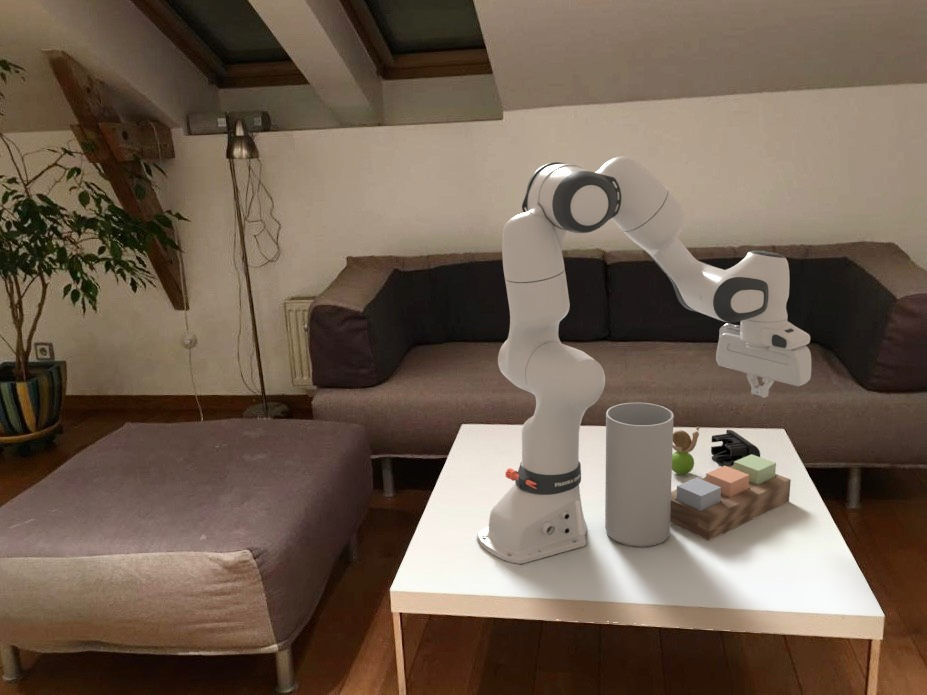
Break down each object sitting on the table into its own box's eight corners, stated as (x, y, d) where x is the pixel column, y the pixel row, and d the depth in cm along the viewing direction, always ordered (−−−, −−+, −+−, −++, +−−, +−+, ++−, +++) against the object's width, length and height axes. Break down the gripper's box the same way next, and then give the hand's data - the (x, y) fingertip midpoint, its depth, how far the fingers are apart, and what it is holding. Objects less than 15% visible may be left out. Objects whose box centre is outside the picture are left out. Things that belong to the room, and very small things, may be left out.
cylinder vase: (624, 511, 173) (625, 398, 166) (680, 528, 165) (684, 410, 158) (593, 536, 163) (593, 417, 156) (651, 555, 156) (654, 430, 149)
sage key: (757, 488, 172) (758, 470, 171) (733, 479, 176) (733, 461, 175) (774, 480, 175) (776, 462, 174) (750, 471, 180) (751, 454, 179)
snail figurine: (692, 481, 185) (694, 431, 182) (665, 475, 189) (666, 425, 186) (701, 472, 189) (703, 423, 186) (674, 466, 193) (676, 418, 190)
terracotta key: (729, 501, 167) (730, 483, 166) (705, 491, 171) (706, 473, 170) (748, 492, 170) (749, 474, 169) (724, 483, 175) (724, 465, 174)
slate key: (700, 514, 162) (701, 496, 161) (676, 504, 166) (676, 485, 165) (720, 505, 165) (721, 487, 164) (695, 495, 170) (696, 477, 169)
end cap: (759, 471, 189) (761, 443, 187) (731, 475, 188) (733, 447, 186) (736, 454, 198) (738, 428, 197) (709, 458, 197) (710, 431, 195)
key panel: (708, 540, 160) (709, 517, 159) (660, 518, 169) (661, 495, 168) (789, 501, 174) (790, 479, 173) (740, 482, 184) (742, 461, 182)
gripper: (710, 324, 173) (708, 387, 177) (799, 343, 157) (794, 412, 161) (729, 318, 177) (727, 380, 180) (818, 337, 160) (813, 404, 164)
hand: (759, 395), depth 170 cm, fingers closed
